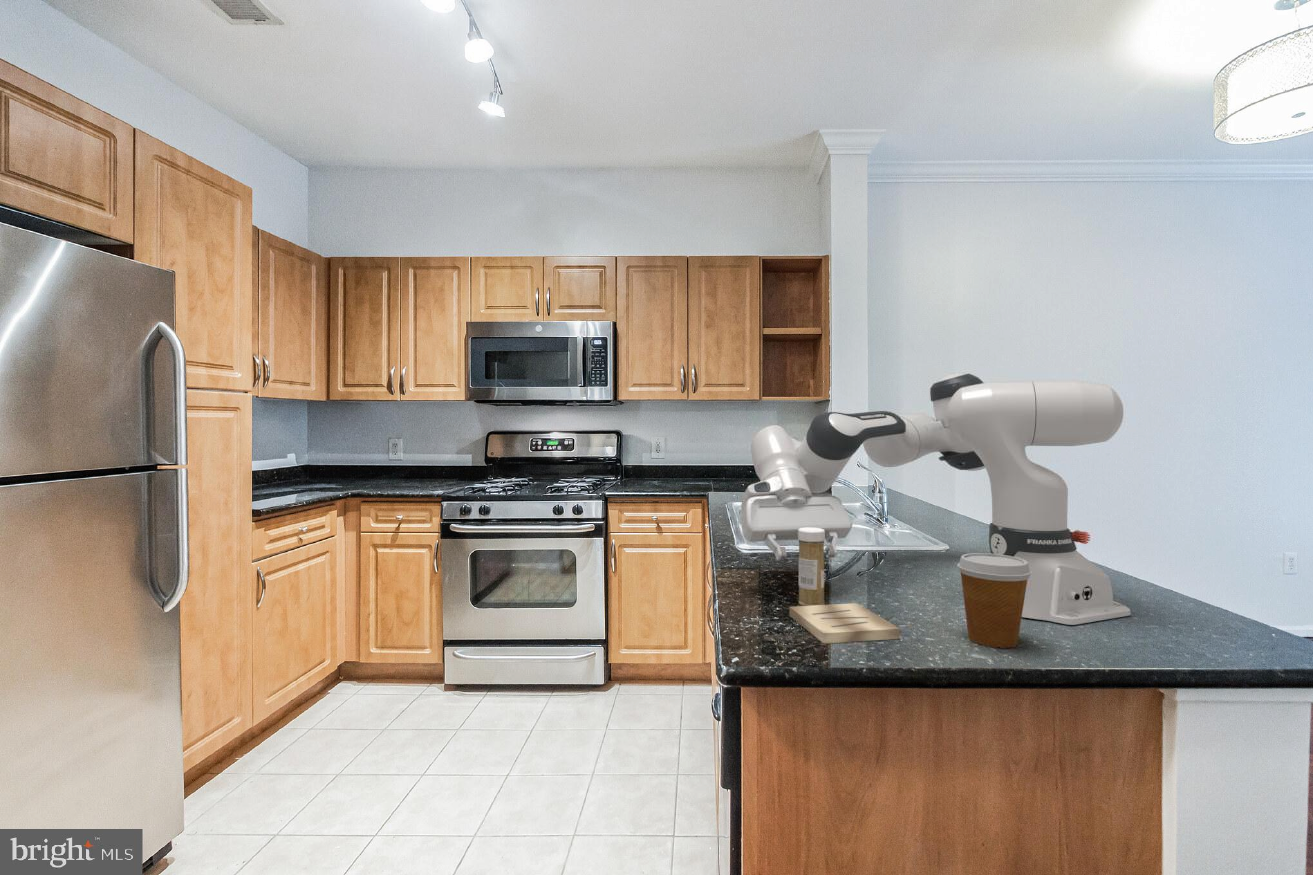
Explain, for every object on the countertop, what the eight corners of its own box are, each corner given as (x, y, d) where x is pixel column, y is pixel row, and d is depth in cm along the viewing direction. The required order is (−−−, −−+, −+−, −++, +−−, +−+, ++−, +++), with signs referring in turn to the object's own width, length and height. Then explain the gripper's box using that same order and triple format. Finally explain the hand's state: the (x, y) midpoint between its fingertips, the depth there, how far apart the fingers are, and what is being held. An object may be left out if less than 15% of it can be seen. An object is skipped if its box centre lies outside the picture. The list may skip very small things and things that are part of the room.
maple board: (856, 611, 104) (856, 602, 104) (899, 638, 91) (899, 628, 91) (789, 615, 102) (789, 606, 102) (823, 643, 89) (823, 633, 89)
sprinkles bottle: (830, 606, 107) (830, 529, 107) (811, 610, 104) (812, 531, 104) (810, 599, 111) (810, 525, 110) (792, 604, 108) (792, 528, 108)
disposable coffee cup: (945, 629, 95) (946, 552, 95) (1009, 630, 95) (1010, 552, 94) (974, 651, 86) (975, 566, 85) (1044, 653, 85) (1046, 567, 85)
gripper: (832, 503, 122) (856, 564, 113) (733, 506, 118) (748, 569, 109) (843, 483, 117) (868, 544, 108) (739, 486, 114) (757, 549, 105)
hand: (807, 557), depth 109 cm, fingers open, 8 cm apart
